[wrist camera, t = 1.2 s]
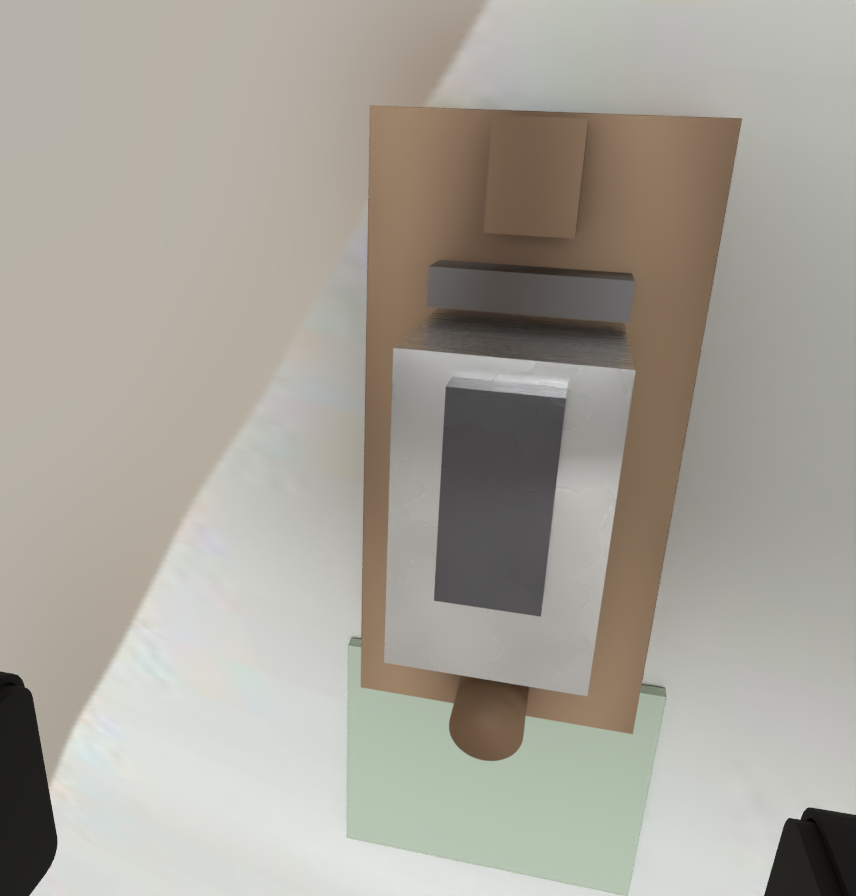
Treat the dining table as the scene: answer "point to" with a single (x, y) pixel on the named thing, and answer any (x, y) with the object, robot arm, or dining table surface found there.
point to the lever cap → (503, 494)
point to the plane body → (553, 296)
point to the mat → (500, 788)
